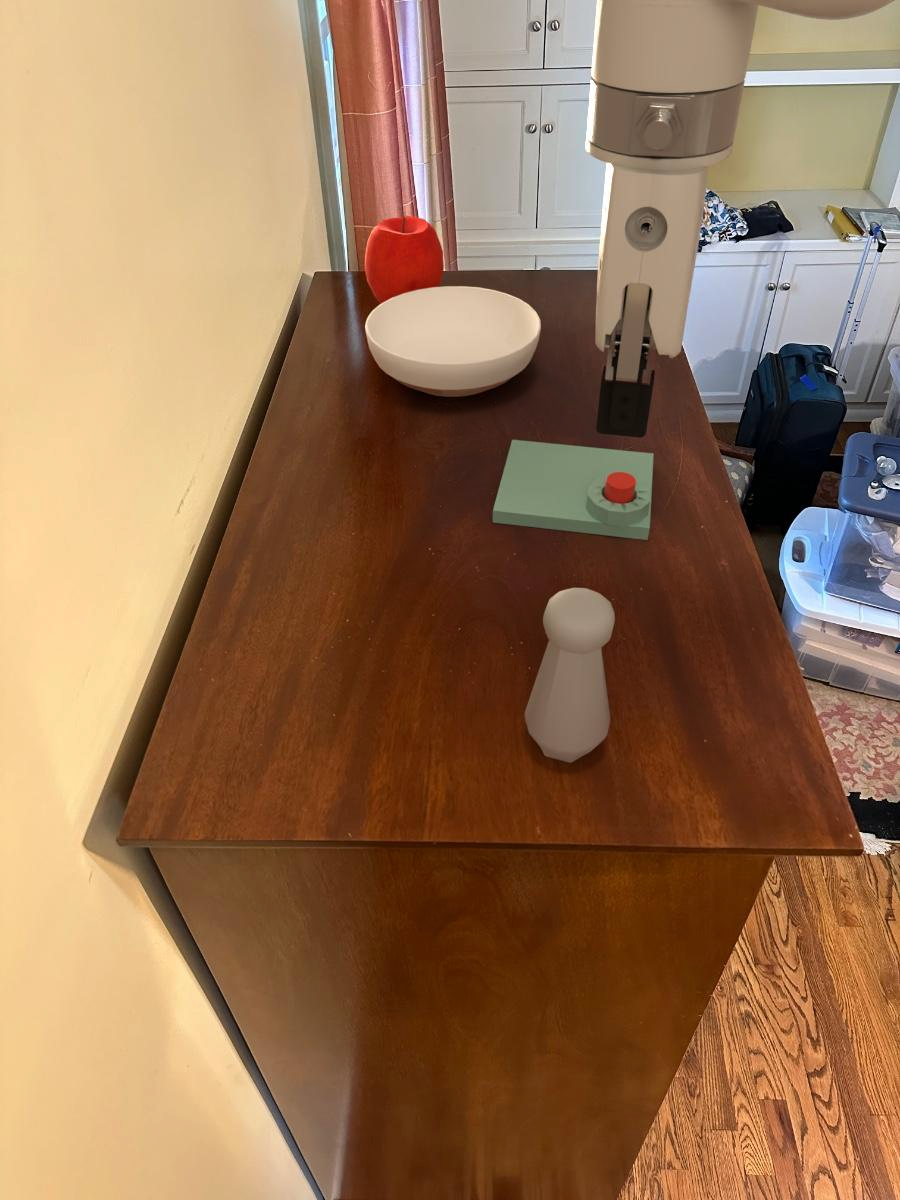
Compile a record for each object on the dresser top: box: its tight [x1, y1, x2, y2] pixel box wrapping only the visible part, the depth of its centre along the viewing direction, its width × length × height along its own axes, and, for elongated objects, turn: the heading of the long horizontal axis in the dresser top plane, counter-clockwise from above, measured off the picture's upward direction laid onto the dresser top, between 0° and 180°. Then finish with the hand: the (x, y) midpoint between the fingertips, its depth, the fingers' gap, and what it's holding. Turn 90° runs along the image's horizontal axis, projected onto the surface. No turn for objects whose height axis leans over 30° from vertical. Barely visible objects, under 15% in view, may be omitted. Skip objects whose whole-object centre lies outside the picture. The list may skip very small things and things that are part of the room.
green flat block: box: [492, 439, 654, 541], centre depth 81 cm, size 14×12×3 cm
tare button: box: [604, 472, 636, 504], centre depth 76 cm, size 3×3×2 cm
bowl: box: [364, 285, 542, 398], centre depth 97 cm, size 20×20×6 cm
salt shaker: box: [524, 587, 616, 764], centre depth 56 cm, size 6×6×13 cm
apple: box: [364, 215, 445, 305], centre depth 107 cm, size 10×10×12 cm
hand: (621, 428), depth 57 cm, fingers closed
